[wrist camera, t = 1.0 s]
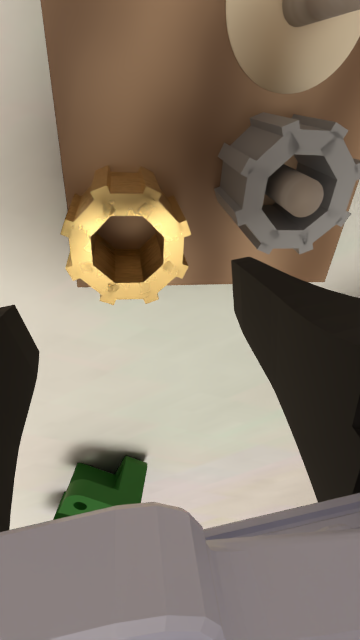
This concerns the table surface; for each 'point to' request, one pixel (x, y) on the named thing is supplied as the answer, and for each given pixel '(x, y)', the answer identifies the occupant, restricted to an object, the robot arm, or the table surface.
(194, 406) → the table surface
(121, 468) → the clamp
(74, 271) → the brass gear
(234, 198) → the grey gear
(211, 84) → the board
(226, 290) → the table surface
